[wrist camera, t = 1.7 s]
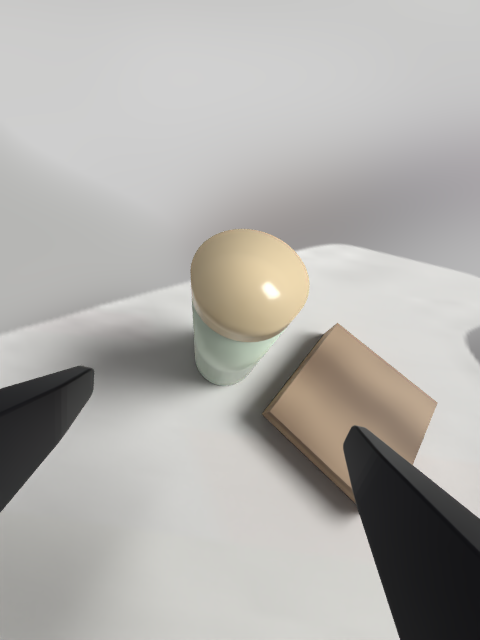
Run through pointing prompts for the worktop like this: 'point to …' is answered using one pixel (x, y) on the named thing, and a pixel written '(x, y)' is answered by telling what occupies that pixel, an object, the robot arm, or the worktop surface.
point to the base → (348, 404)
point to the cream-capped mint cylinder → (242, 300)
